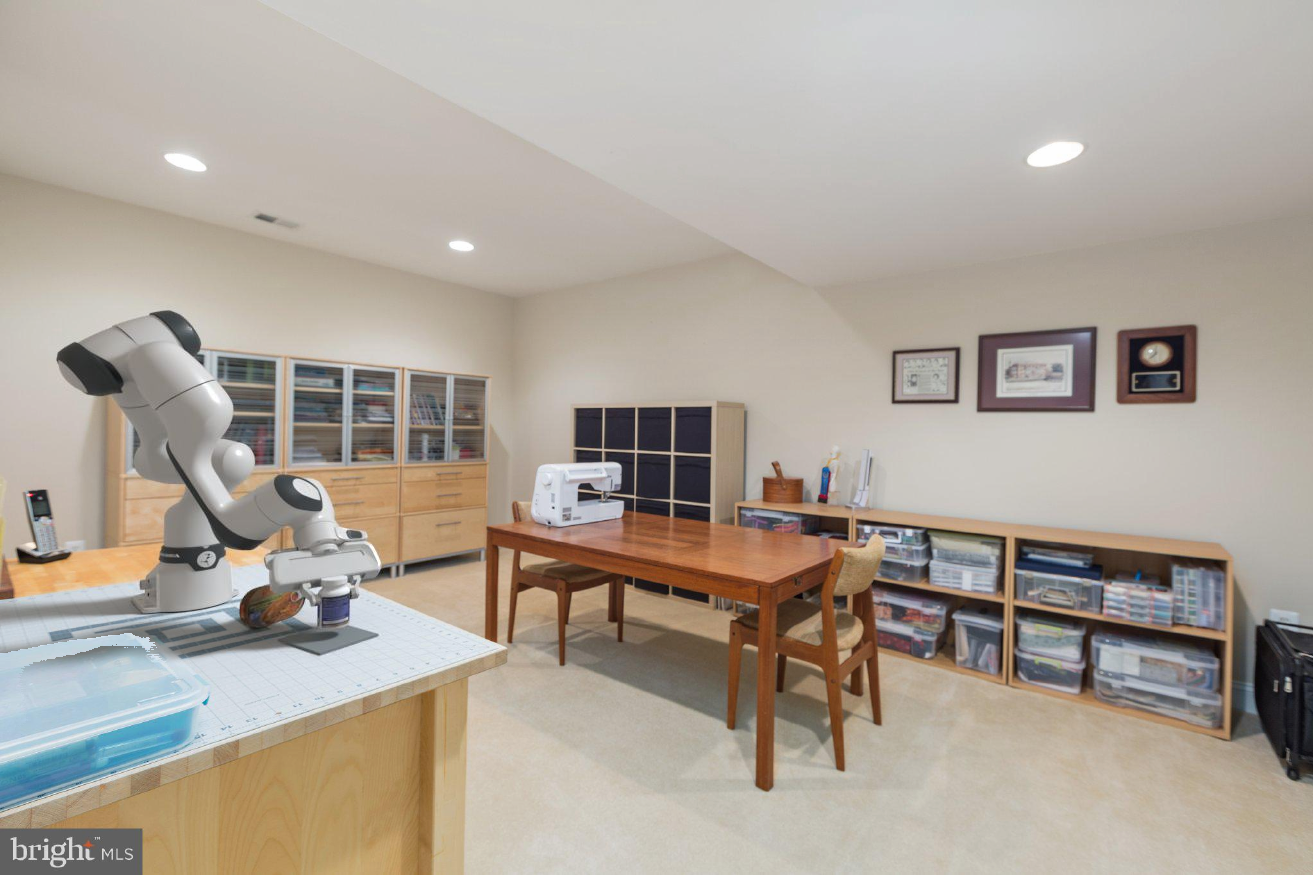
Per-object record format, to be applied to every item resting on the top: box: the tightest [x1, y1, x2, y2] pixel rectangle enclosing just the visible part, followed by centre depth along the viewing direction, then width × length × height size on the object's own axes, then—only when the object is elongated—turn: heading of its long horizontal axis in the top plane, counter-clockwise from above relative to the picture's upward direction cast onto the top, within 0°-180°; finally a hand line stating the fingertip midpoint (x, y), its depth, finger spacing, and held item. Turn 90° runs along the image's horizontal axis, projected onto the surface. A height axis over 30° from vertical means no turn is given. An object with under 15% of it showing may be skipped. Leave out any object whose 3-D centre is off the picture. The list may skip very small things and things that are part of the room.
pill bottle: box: [316, 575, 351, 631], centre depth 116 cm, size 6×6×10 cm
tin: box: [238, 583, 307, 629], centre depth 124 cm, size 15×3×8 cm, turn 168°
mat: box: [277, 625, 379, 656], centre depth 115 cm, size 14×12×1 cm
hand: (336, 601), depth 115 cm, fingers closed on pill bottle, 6 cm apart
